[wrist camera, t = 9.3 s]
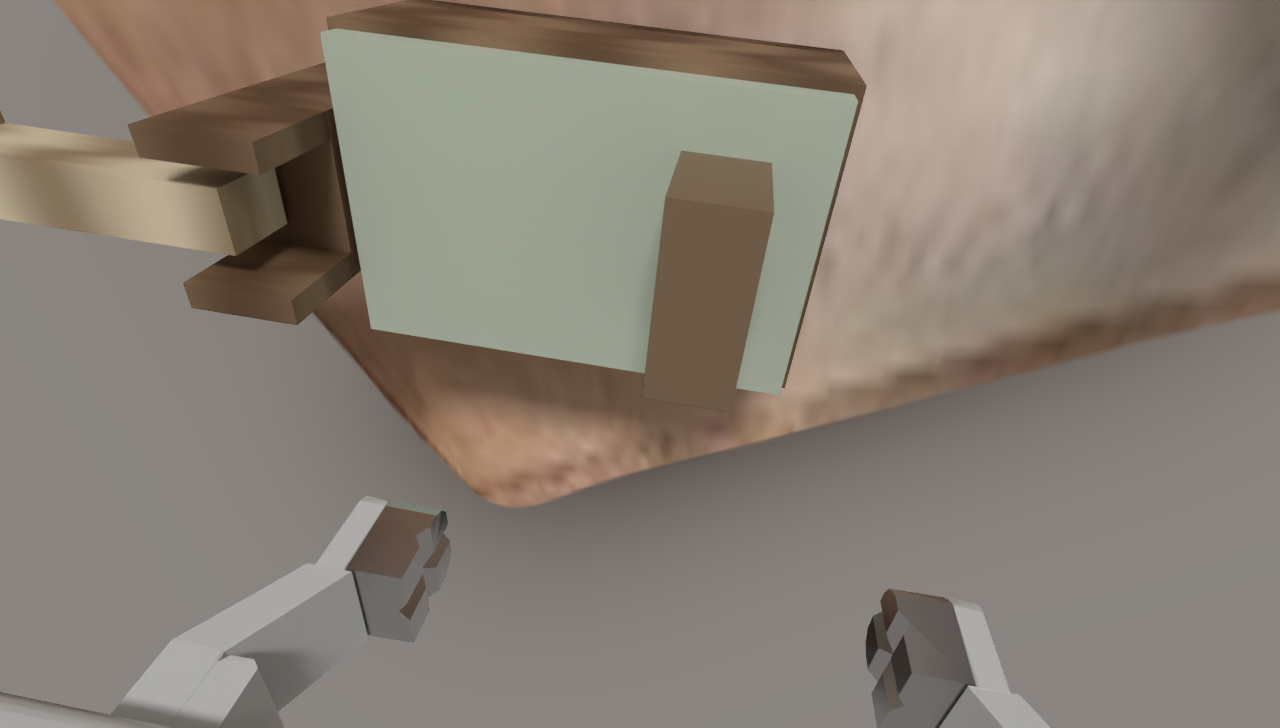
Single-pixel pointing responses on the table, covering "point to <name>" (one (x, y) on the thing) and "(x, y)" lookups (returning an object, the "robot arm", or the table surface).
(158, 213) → the bar
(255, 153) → the chest
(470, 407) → the table surface
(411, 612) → the robot arm
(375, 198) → the lid
